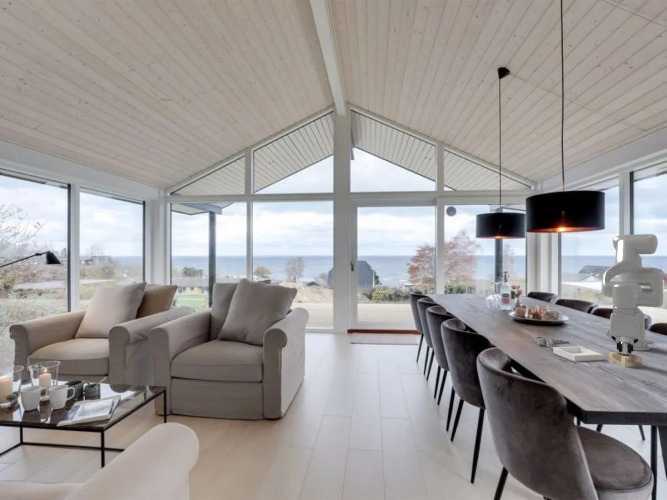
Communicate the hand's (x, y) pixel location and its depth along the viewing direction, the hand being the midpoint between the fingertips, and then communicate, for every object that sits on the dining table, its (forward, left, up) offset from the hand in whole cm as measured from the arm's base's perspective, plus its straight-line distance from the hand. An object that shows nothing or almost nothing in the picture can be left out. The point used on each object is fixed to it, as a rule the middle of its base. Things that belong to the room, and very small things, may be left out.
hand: (625, 351), depth 153 cm
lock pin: (0, 0, -5) cm, 5 cm away
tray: (+12, -13, -6) cm, 19 cm away
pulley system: (+8, -37, -7) cm, 39 cm away
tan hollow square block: (0, 0, -6) cm, 6 cm away
